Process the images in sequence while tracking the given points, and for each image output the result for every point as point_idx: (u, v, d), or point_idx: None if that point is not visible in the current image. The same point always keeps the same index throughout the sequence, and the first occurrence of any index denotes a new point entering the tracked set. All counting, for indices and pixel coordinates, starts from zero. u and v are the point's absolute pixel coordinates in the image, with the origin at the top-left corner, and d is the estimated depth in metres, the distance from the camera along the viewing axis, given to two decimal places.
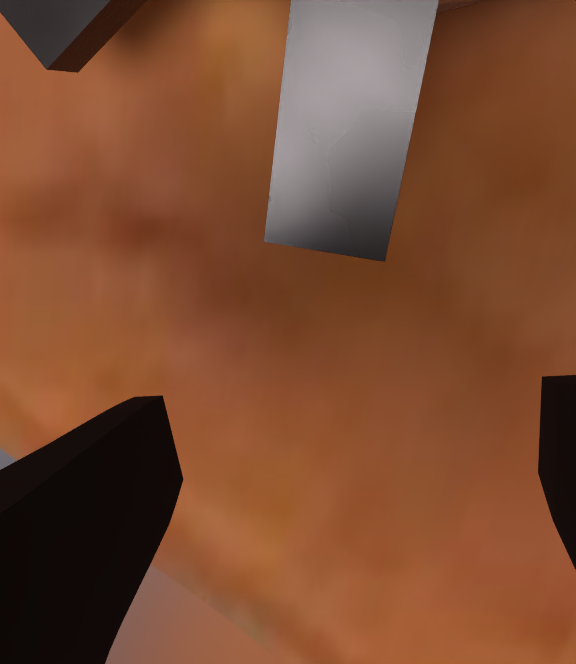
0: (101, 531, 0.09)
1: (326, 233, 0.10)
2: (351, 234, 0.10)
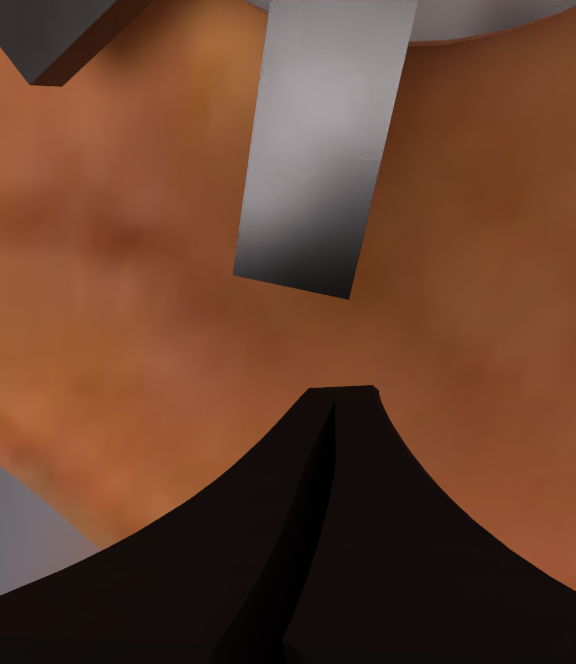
0: None
1: (293, 270, 0.10)
2: (317, 272, 0.10)
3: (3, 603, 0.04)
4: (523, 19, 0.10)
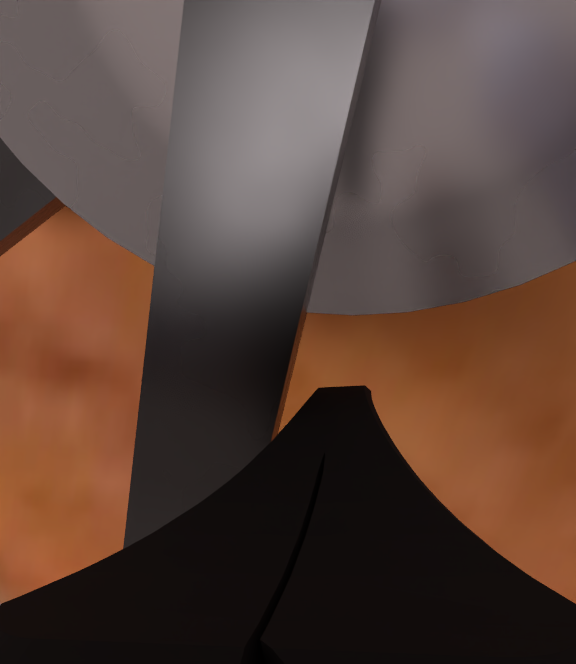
0: None
1: None
2: None
3: (24, 604, 0.04)
4: (423, 306, 0.10)
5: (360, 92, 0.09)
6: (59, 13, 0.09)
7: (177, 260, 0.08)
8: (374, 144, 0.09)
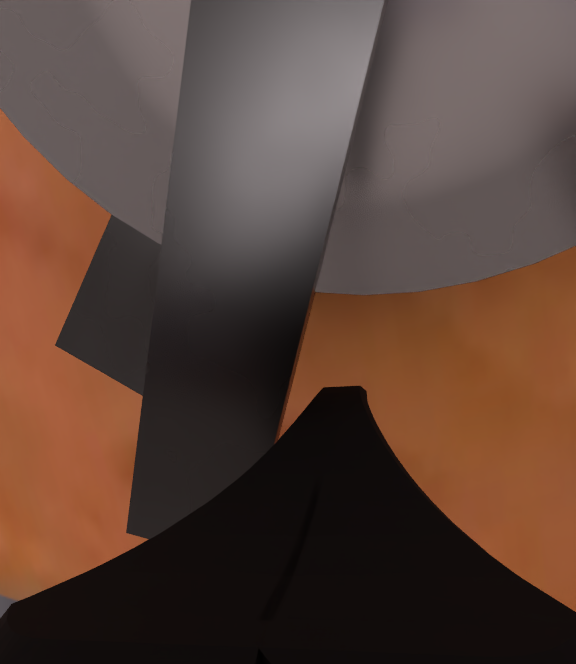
0: None
1: None
2: None
3: (34, 604, 0.04)
4: (434, 285, 0.10)
5: (373, 62, 0.09)
6: None
7: (186, 231, 0.08)
8: (387, 117, 0.09)
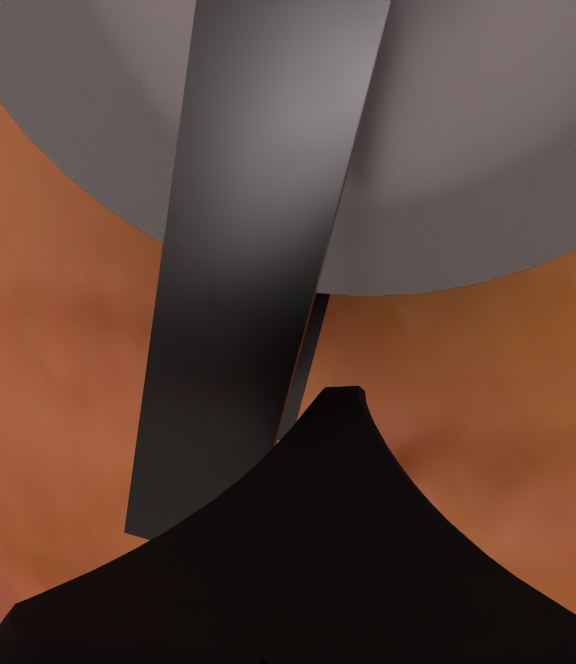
0: None
1: None
2: None
3: (38, 604, 0.04)
4: (435, 287, 0.10)
5: (377, 63, 0.09)
6: None
7: (188, 230, 0.07)
8: (390, 118, 0.09)
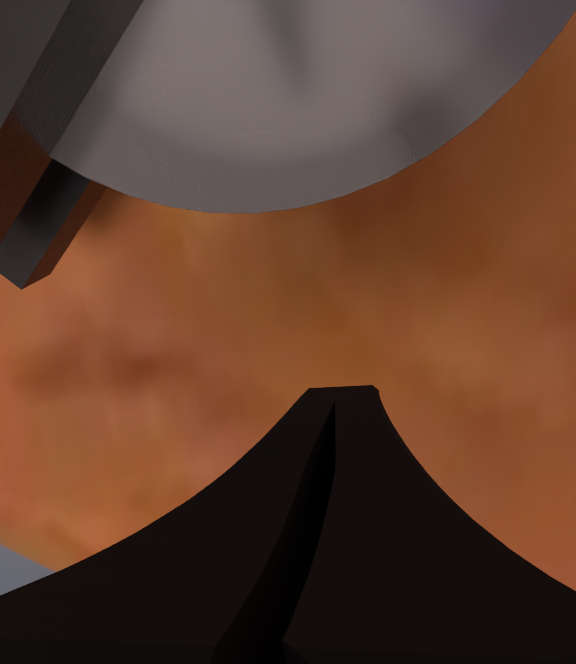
0: None
1: None
2: None
3: (3, 603, 0.04)
4: (138, 195, 0.12)
5: (145, 0, 0.11)
6: None
7: None
8: (142, 47, 0.11)
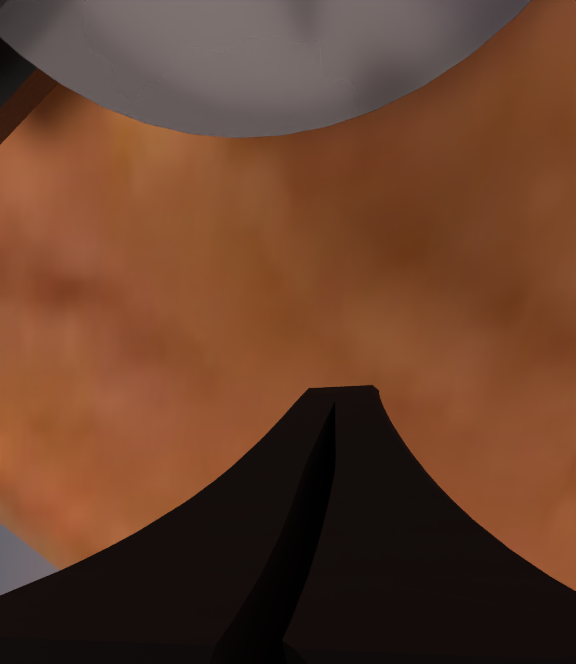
0: None
1: None
2: None
3: (3, 603, 0.04)
4: (74, 87, 0.12)
5: None
6: None
7: None
8: None
